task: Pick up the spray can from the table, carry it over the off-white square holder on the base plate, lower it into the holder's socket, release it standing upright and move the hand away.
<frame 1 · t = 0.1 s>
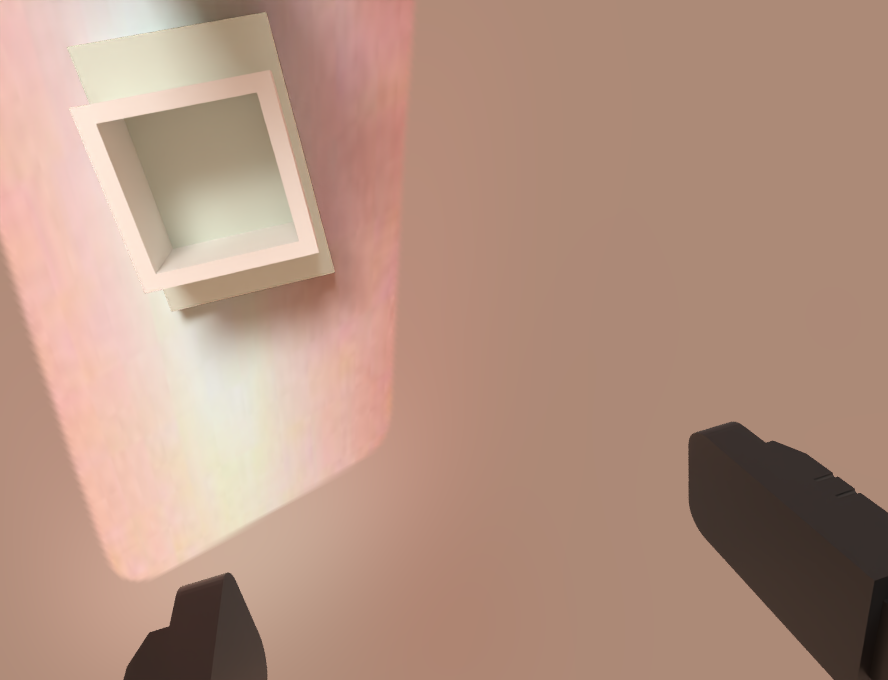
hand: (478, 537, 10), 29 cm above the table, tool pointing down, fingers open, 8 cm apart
can holder: (217, 169, 34), on the table
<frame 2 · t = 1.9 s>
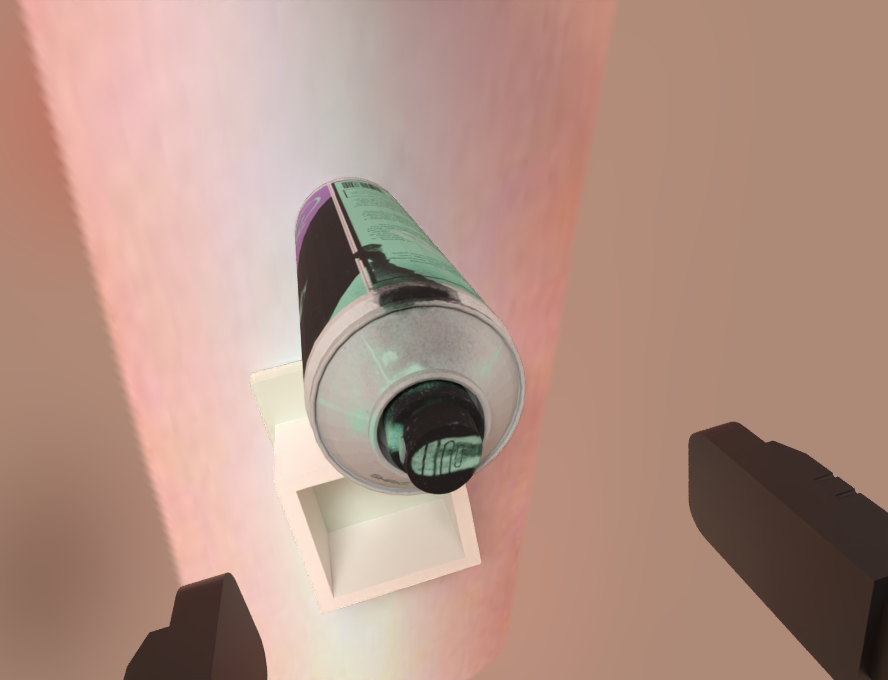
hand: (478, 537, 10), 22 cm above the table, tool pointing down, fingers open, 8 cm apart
can holder: (370, 455, 36), on the table
spray can: (351, 232, 31), on the table
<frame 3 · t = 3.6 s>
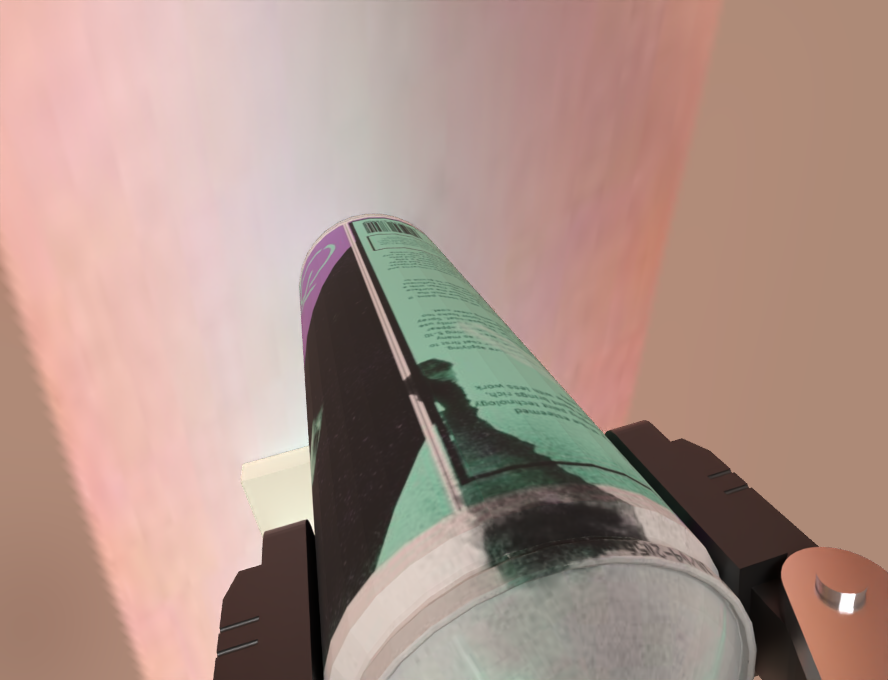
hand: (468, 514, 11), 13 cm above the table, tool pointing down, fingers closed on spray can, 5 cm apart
can holder: (394, 556, 28), on the table
spray can: (373, 284, 23), on the table, touching gripper
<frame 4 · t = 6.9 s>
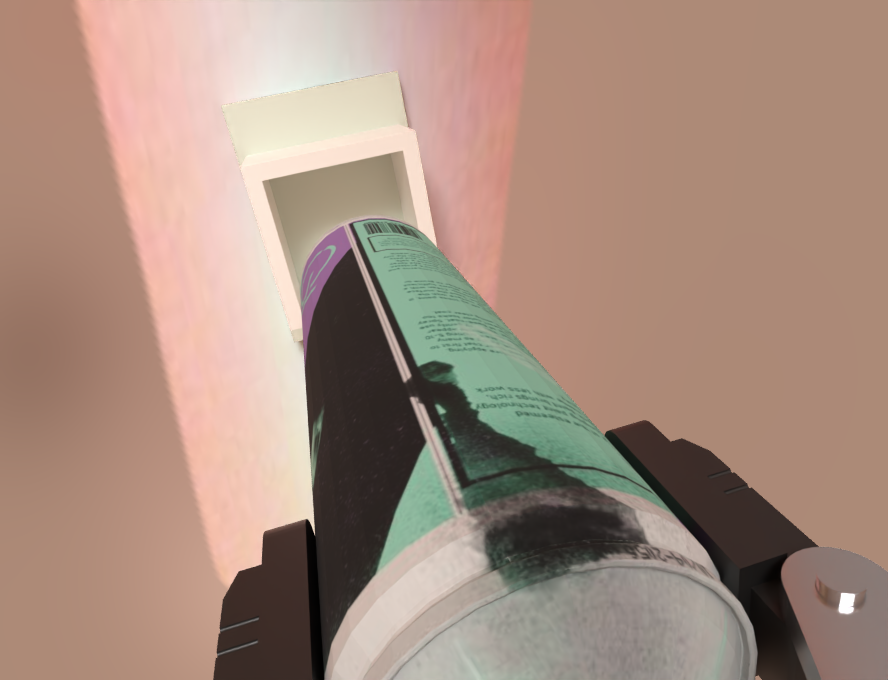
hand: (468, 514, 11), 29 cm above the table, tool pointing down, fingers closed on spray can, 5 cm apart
can holder: (341, 211, 37), on the table
spray can: (373, 285, 23), point 15 cm above the table, touching gripper
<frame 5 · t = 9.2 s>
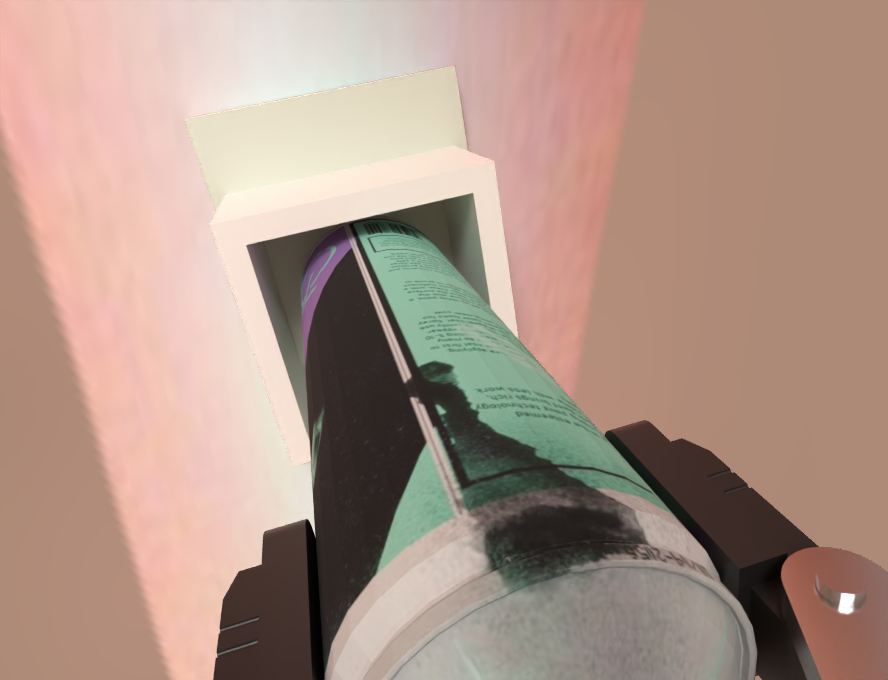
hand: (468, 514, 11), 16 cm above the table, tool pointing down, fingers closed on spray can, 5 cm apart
can holder: (365, 270, 25), on the table
spray can: (373, 285, 23), point 2 cm above the table, touching gripper
when the fingers open (16 cm above the table, at t = 10.1 s): spray can drops 1 cm, resting on can holder.
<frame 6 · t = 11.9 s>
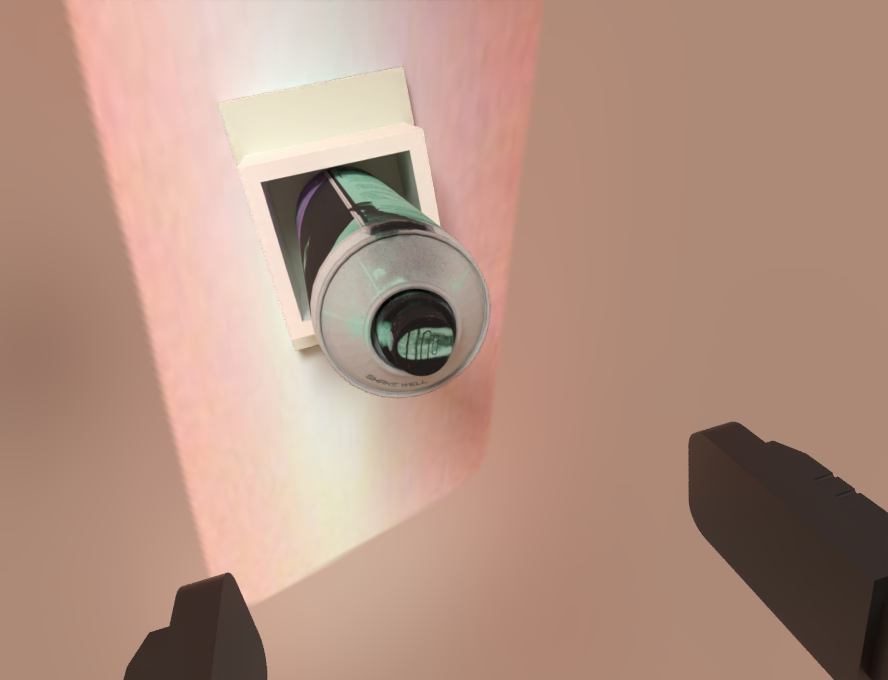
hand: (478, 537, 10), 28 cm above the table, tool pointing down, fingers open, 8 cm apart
can holder: (343, 213, 35), on the table
spray can: (345, 215, 34), point 1 cm above the table, touching can holder
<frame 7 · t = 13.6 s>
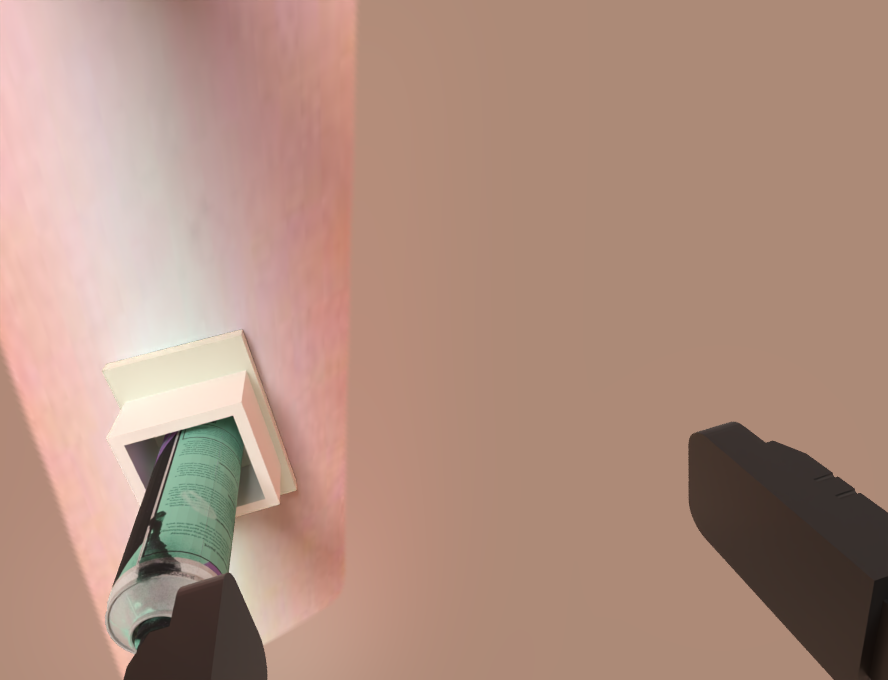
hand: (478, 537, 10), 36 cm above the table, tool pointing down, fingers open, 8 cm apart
can holder: (208, 427, 47), on the table
spray can: (207, 432, 46), point 1 cm above the table, touching can holder
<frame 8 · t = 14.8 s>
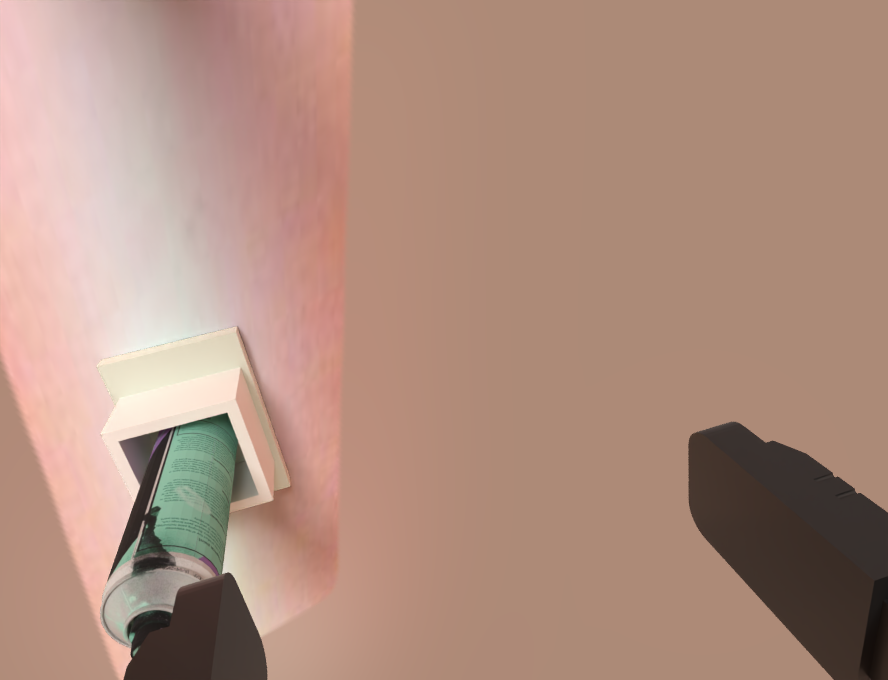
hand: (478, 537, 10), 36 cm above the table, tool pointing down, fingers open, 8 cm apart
can holder: (203, 423, 47), on the table
spray can: (201, 428, 46), point 1 cm above the table, touching can holder
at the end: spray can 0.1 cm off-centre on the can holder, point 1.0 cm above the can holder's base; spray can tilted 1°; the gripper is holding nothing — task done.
